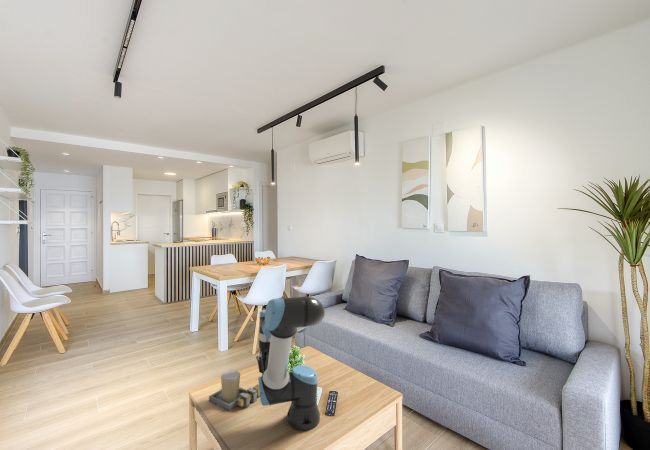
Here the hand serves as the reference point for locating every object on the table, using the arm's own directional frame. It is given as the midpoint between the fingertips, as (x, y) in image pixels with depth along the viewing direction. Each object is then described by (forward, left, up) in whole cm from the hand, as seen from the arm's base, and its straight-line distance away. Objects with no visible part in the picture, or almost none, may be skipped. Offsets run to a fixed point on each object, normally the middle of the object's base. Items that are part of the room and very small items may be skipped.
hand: (265, 383), depth 162 cm
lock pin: (0, +11, -3) cm, 11 cm away
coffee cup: (+10, +15, -4) cm, 18 cm away
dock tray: (+8, +15, -4) cm, 17 cm away
